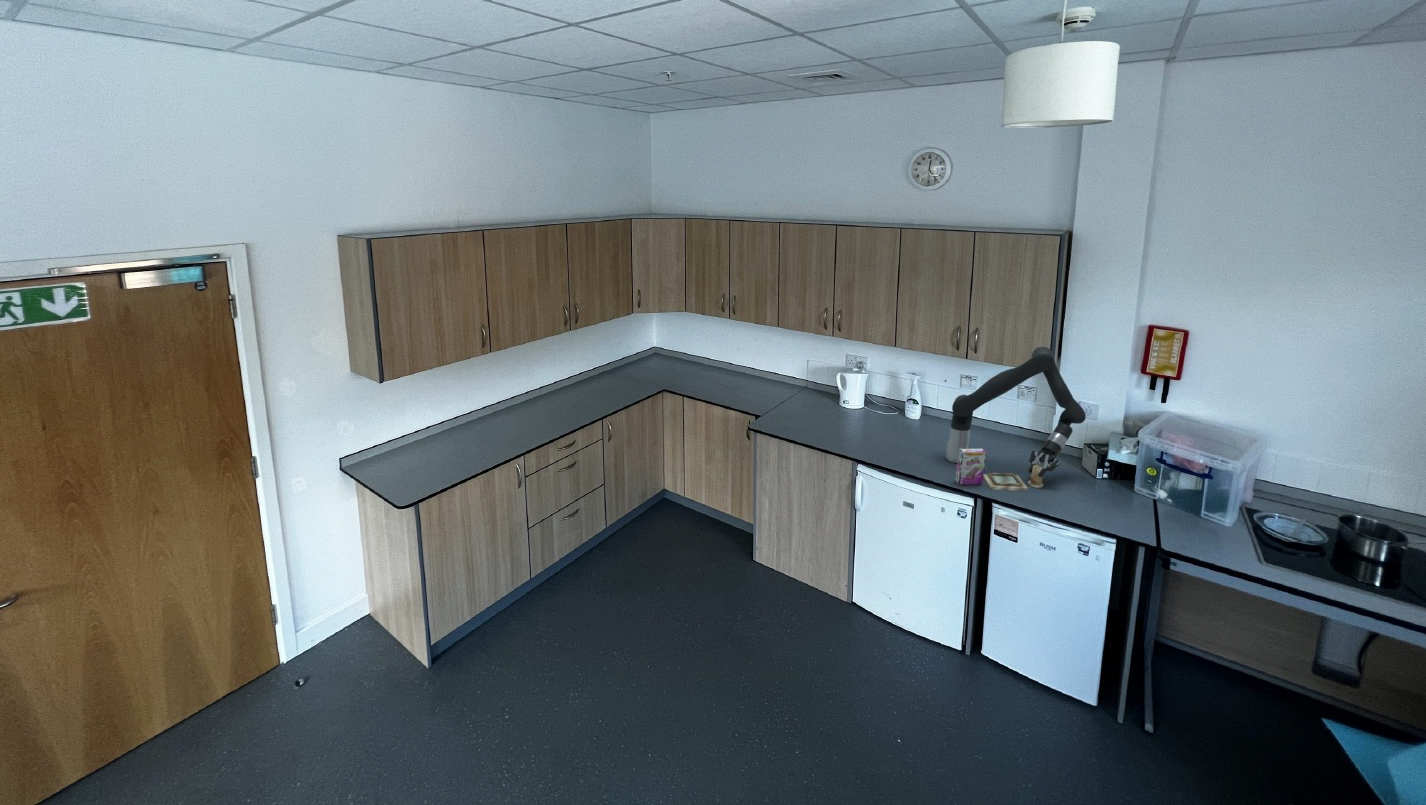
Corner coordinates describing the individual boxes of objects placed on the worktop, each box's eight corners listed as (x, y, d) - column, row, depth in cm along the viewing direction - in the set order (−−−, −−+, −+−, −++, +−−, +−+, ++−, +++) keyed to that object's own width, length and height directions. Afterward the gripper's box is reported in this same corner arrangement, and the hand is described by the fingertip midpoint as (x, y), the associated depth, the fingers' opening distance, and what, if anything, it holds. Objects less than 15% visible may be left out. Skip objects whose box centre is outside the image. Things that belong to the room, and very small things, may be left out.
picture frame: (990, 489, 322) (991, 484, 322) (982, 476, 336) (983, 471, 335) (1027, 490, 321) (1027, 485, 320) (1017, 477, 334) (1018, 472, 333)
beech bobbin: (1025, 483, 328) (1027, 466, 325) (1033, 480, 331) (1036, 463, 328) (1037, 489, 323) (1040, 470, 320) (1046, 485, 326) (1048, 467, 323)
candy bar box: (958, 485, 327) (962, 452, 322) (954, 480, 332) (958, 448, 326) (982, 484, 327) (986, 452, 322) (978, 480, 332) (982, 447, 327)
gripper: (1037, 435, 330) (1018, 464, 328) (1066, 444, 318) (1046, 475, 316) (1043, 443, 334) (1023, 472, 332) (1071, 453, 323) (1051, 483, 320)
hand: (1034, 474), depth 324 cm, fingers closed on beech bobbin, 4 cm apart
